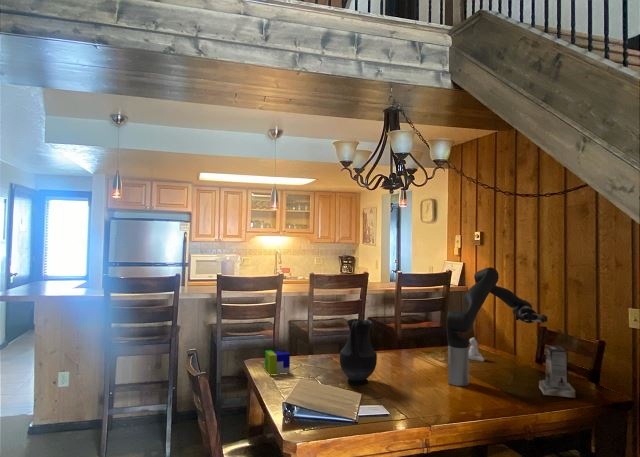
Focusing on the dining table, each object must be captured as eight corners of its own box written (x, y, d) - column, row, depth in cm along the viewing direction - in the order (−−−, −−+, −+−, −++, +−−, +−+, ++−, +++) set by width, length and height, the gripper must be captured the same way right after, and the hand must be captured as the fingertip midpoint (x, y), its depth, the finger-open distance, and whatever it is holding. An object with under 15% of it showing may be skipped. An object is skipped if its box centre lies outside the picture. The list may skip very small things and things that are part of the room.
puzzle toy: (289, 374, 213) (289, 353, 214) (270, 376, 210) (270, 355, 210) (283, 368, 223) (283, 349, 223) (264, 370, 219) (265, 350, 219)
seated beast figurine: (484, 362, 235) (484, 339, 236) (468, 361, 237) (468, 339, 237) (481, 357, 245) (481, 336, 245) (465, 356, 246) (465, 335, 246)
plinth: (544, 395, 185) (544, 387, 185) (538, 386, 196) (538, 379, 196) (575, 398, 182) (575, 390, 182) (568, 389, 192) (568, 382, 192)
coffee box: (545, 380, 194) (544, 344, 194) (560, 381, 193) (560, 345, 193) (551, 387, 185) (550, 349, 186) (567, 388, 184) (567, 350, 184)
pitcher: (379, 378, 207) (379, 315, 208) (372, 393, 187) (372, 323, 188) (343, 375, 212) (344, 313, 213) (333, 389, 192) (334, 321, 193)
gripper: (512, 306, 226) (517, 311, 210) (542, 307, 222) (549, 313, 206) (512, 320, 226) (517, 326, 210) (542, 322, 222) (549, 328, 206)
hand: (533, 320), depth 208 cm, fingers open, 8 cm apart
